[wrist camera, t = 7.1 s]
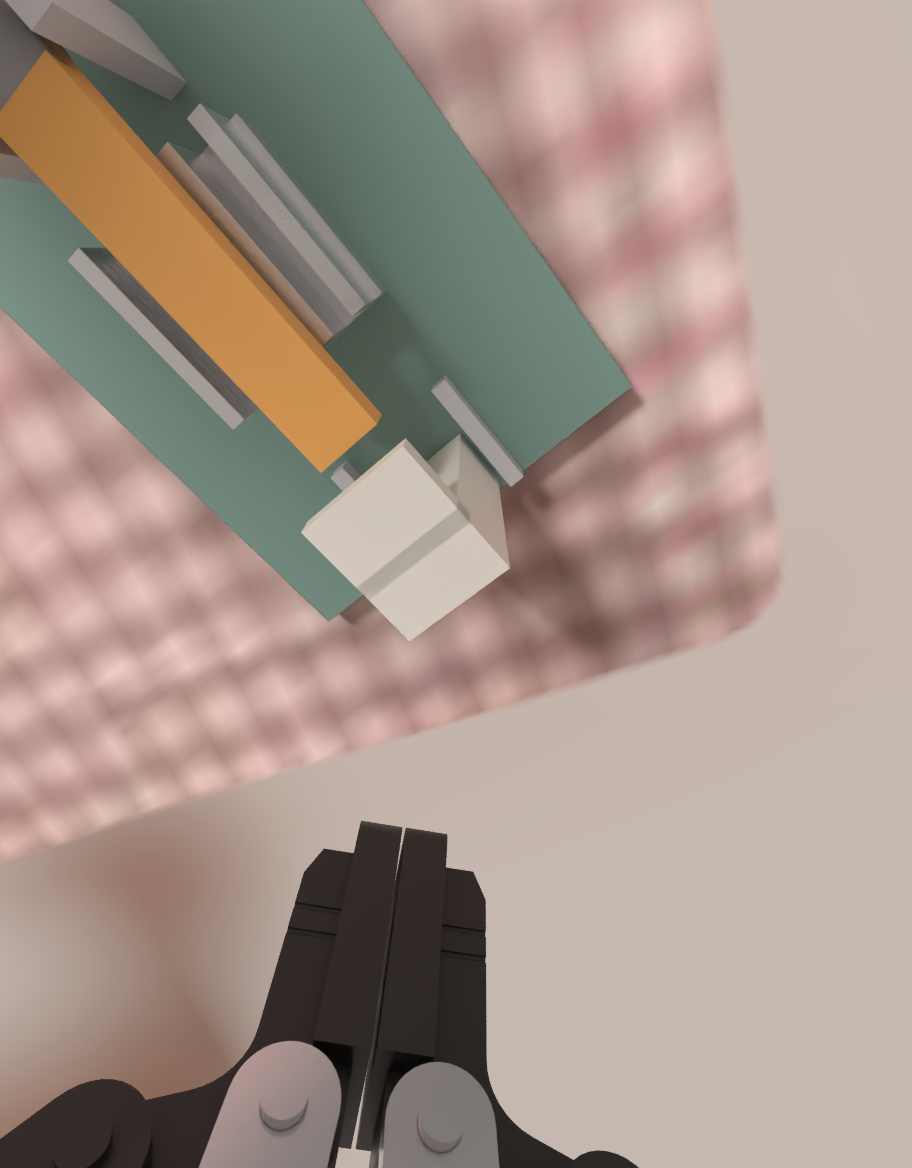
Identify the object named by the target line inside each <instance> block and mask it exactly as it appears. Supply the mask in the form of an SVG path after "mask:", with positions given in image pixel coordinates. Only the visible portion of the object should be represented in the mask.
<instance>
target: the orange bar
mask: <svg viewBox="0 0 912 1168" xmlns="http://www.w3.org/2000/svg"><path fill="white" fill-rule="evenodd" d="M0 137H1V138H2V139H3V140H4V141H5V142H6V143H7V144H8V145H9V146H10V148H11V149H12V150H13V151H14V152H15V153H16V154H17V155H18V156H19V157H20V158H21V159H22V160H23V161H24V162H25V163H26V164H27V165H28V166H29V167H30V169H31V170H32V171H33V172H34V173H35V174H36V175H37V176H38V177H39V178H40V179H41V180H42V181H43V182H44V183H45V184H46V185H47V186H48V187H49V188H50V189H51V191H52V192H53V193H54V194H55V195H56V196H57V197H58V198H59V199H60V200H61V201H62V202H63V203H64V204H65V205H66V206H67V207H68V208H69V209H70V210H71V212H72V213H73V214H74V215H75V216H76V217H77V218H78V219H79V220H80V221H81V222H82V223H83V224H84V225H85V226H86V227H87V228H88V229H89V230H90V231H91V233H92V234H93V235H94V236H95V237H96V238H97V239H98V240H99V241H100V242H101V243H102V244H103V245H104V246H105V247H106V248H107V249H108V250H109V251H110V252H111V253H112V255H113V256H114V257H115V258H116V259H117V260H118V261H119V262H120V263H121V264H122V265H123V266H124V267H125V268H126V269H127V270H128V271H129V272H130V273H131V274H132V276H133V277H134V278H135V279H136V280H137V281H138V282H139V283H140V284H141V285H142V286H143V287H144V288H145V289H146V290H147V291H148V292H149V293H150V294H151V295H152V296H153V298H154V299H155V300H156V301H157V302H158V303H159V304H160V305H161V306H162V307H163V308H164V309H165V310H166V311H167V312H168V313H169V314H170V315H171V316H172V317H173V319H174V320H175V321H176V322H177V323H178V324H179V325H180V326H181V327H182V328H183V329H184V330H185V331H186V332H187V333H188V334H189V335H190V336H191V337H192V338H193V339H194V341H195V342H196V343H197V344H198V345H199V346H200V347H201V348H202V349H203V350H204V351H205V352H206V353H207V354H208V355H209V356H210V357H211V358H212V359H213V360H214V362H215V363H216V364H217V365H218V366H219V367H220V368H221V369H222V370H223V371H224V372H225V373H226V374H227V375H228V376H229V377H230V378H231V379H232V380H233V381H234V382H235V384H236V385H237V386H238V387H239V388H240V389H241V390H242V391H243V392H244V393H245V394H246V395H247V396H248V397H249V398H250V399H251V400H252V401H253V402H254V403H255V405H256V406H257V407H258V408H259V409H260V410H261V411H262V412H263V413H264V414H265V415H266V416H267V417H268V418H269V419H270V420H271V421H272V422H273V423H274V424H275V425H276V427H277V428H278V429H279V430H280V431H281V432H282V433H283V434H284V435H285V436H286V437H287V438H288V439H289V440H290V441H291V442H292V443H293V444H294V445H295V446H296V448H297V449H298V450H299V451H300V452H301V453H302V454H303V455H304V456H305V457H306V458H307V459H308V460H309V461H310V462H311V463H312V464H313V465H314V466H315V467H316V468H317V470H318V471H319V472H320V473H322V472H323V471H324V470H325V469H326V468H327V467H328V466H330V465H331V464H332V463H333V462H334V461H335V460H336V459H338V458H339V457H340V456H341V455H342V454H343V453H345V452H346V451H347V450H348V449H349V448H350V447H351V446H353V445H354V444H355V443H356V442H357V441H358V440H359V439H361V438H362V437H363V436H364V435H365V434H366V433H367V432H369V431H370V430H371V429H372V428H373V427H374V426H375V425H377V423H378V421H379V419H380V417H381V415H382V414H381V413H380V412H379V411H378V410H377V408H376V407H375V406H374V405H373V404H372V403H371V402H370V400H369V399H368V398H367V397H366V396H365V395H364V394H363V392H362V391H361V390H360V389H359V388H358V387H357V386H356V384H355V383H354V382H353V381H352V380H351V379H350V378H349V376H348V375H347V374H346V373H345V372H344V371H343V370H342V368H341V367H340V366H339V365H338V364H337V363H336V362H335V360H334V359H333V358H332V357H331V356H330V355H329V354H328V353H327V351H326V350H325V349H324V348H323V347H322V346H321V345H320V343H319V342H318V341H317V340H316V339H315V338H314V337H313V335H312V334H311V333H310V332H309V331H308V330H307V329H306V327H305V326H304V325H303V324H302V323H301V322H300V321H299V319H298V318H297V317H296V316H295V315H294V314H293V313H292V311H291V310H290V309H289V308H288V307H287V306H286V305H285V303H284V302H283V301H282V300H281V299H280V298H279V297H278V295H277V294H276V293H275V292H274V291H273V290H272V289H271V287H270V286H269V285H268V284H267V283H266V282H265V281H264V280H263V278H262V277H261V276H260V275H259V274H258V273H257V272H256V270H255V269H254V268H253V267H252V266H251V265H250V264H249V262H248V261H247V260H246V259H245V258H244V257H243V256H242V254H241V253H240V252H239V251H238V250H237V249H236V248H235V246H234V245H233V244H232V243H231V242H230V241H229V240H228V238H227V237H226V236H225V235H224V234H223V233H222V232H221V230H220V229H219V228H218V227H217V226H216V225H215V224H214V222H213V221H212V220H211V219H210V218H209V217H208V216H207V214H206V213H205V212H204V211H203V210H202V209H201V208H200V207H199V205H198V204H197V203H196V202H195V201H194V200H193V199H192V197H191V196H190V195H189V194H188V193H187V192H186V191H185V189H184V188H183V187H182V186H181V185H180V184H179V183H178V181H177V180H176V179H175V178H174V177H173V176H172V175H171V173H170V172H169V171H168V170H167V169H166V168H165V167H164V165H163V164H162V163H161V162H160V161H159V160H158V159H157V157H156V156H155V155H154V154H153V153H152V152H151V151H150V149H149V148H148V147H147V146H146V145H145V144H144V143H143V141H142V140H141V139H140V138H139V137H138V136H137V135H136V134H135V132H134V131H133V130H132V129H131V128H130V127H129V126H128V124H127V123H126V122H125V121H124V120H123V119H122V118H121V116H120V115H119V114H118V113H117V112H116V111H115V110H114V108H113V107H112V106H111V105H110V104H109V103H108V102H107V100H106V99H105V98H104V97H103V96H102V95H101V94H100V92H99V91H98V90H97V89H96V88H95V87H94V86H93V84H92V83H91V82H90V81H89V80H88V79H87V78H86V76H85V75H84V74H83V73H82V72H81V71H80V70H79V68H78V67H77V66H76V65H75V64H74V63H73V61H72V59H71V57H70V56H69V54H68V53H67V51H66V50H65V49H64V47H63V46H61V45H59V44H57V43H55V42H53V41H51V40H49V39H47V38H45V37H43V36H41V35H39V34H37V33H35V32H33V31H31V29H30V28H29V27H28V26H27V25H26V24H25V23H24V22H23V20H22V19H21V18H20V17H19V16H18V15H17V14H16V12H15V11H14V10H13V9H12V8H11V7H10V6H9V5H8V3H7V2H6V1H5V0H0Z"/></svg>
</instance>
